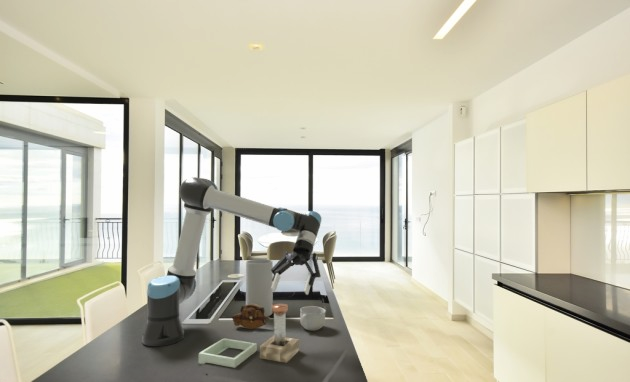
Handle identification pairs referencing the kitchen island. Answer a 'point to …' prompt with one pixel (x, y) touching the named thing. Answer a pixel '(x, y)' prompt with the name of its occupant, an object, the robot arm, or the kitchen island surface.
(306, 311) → the teacup
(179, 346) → the kitchen island surface
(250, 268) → the cylinder vase
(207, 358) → the tray
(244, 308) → the wooden carving
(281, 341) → the pin
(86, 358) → the kitchen island surface
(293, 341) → the block
